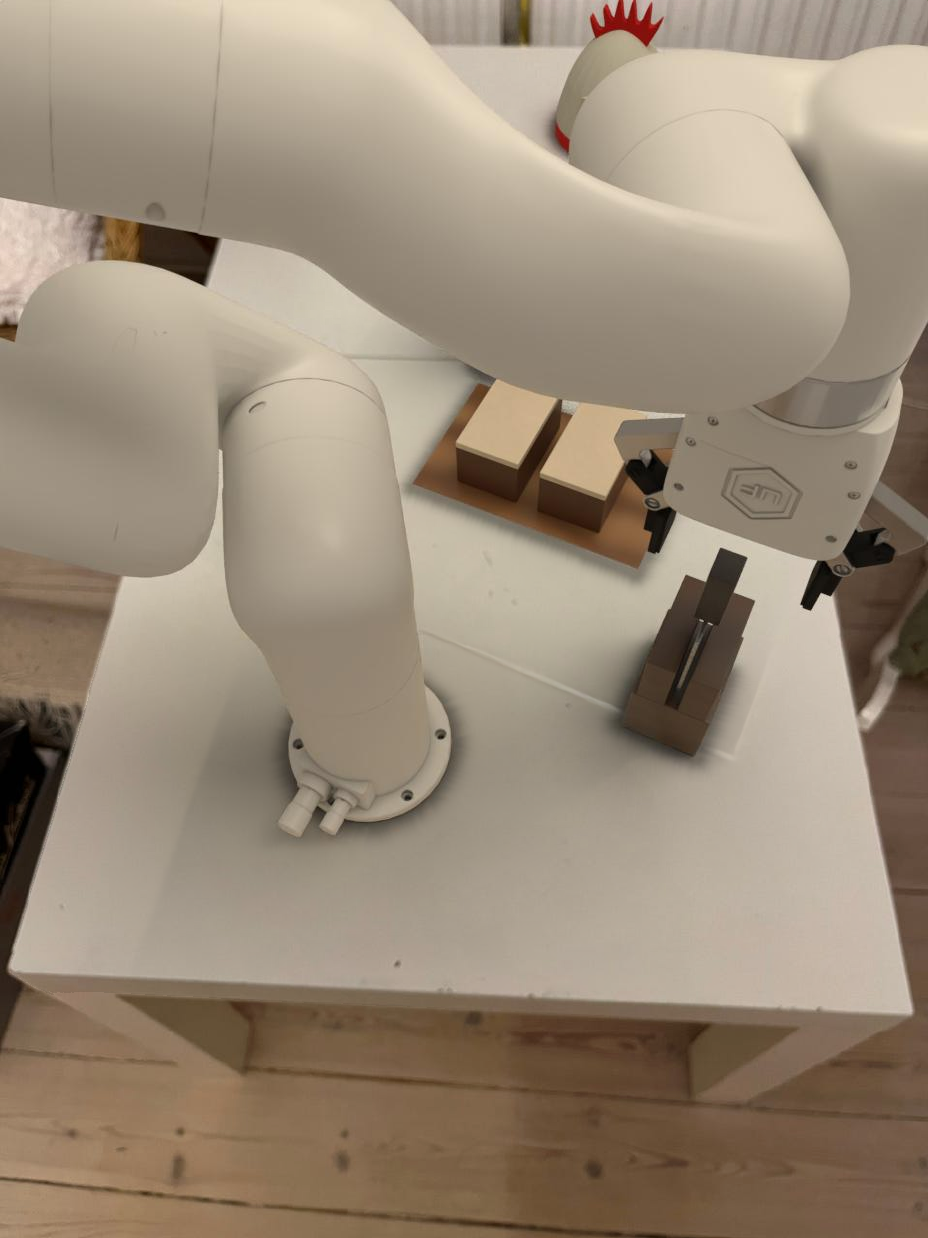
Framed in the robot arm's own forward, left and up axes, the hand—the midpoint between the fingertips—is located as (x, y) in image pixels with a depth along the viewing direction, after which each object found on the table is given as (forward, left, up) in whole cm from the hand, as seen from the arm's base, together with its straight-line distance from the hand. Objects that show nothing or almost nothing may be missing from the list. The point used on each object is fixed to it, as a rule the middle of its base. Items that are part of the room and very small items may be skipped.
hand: (734, 563), depth 57 cm
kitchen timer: (+70, +33, -19) cm, 80 cm away
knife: (0, 0, -13) cm, 13 cm away
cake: (+17, +23, -18) cm, 34 cm away
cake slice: (+17, +15, -18) cm, 29 cm away
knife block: (0, 0, -19) cm, 19 cm away
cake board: (+17, +18, -19) cm, 31 cm away
